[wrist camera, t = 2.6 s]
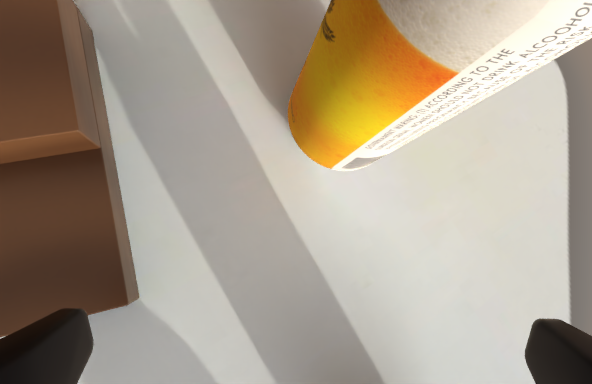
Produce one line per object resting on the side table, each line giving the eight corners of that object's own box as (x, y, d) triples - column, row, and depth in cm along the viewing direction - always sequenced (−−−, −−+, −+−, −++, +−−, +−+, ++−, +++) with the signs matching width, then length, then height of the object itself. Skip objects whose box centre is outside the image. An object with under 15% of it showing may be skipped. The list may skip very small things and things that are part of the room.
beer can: (365, 62, 21) (663, -336, 7) (401, 155, 21) (805, -52, 6) (270, 86, 20) (387, -345, 5) (306, 187, 19) (543, 15, 5)
